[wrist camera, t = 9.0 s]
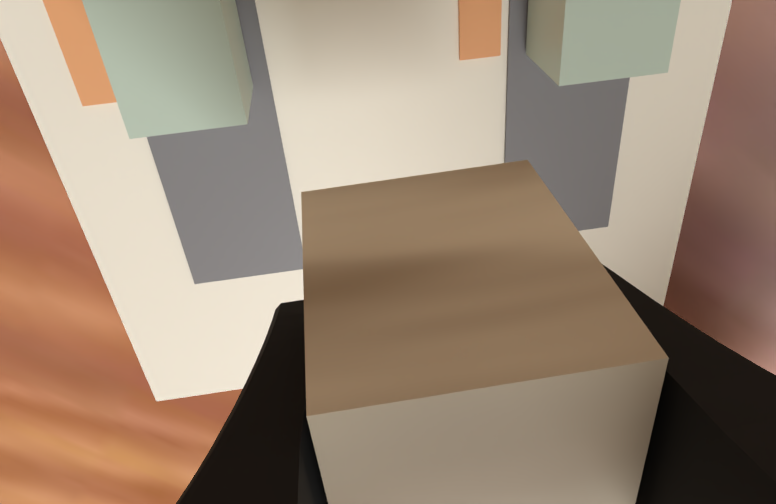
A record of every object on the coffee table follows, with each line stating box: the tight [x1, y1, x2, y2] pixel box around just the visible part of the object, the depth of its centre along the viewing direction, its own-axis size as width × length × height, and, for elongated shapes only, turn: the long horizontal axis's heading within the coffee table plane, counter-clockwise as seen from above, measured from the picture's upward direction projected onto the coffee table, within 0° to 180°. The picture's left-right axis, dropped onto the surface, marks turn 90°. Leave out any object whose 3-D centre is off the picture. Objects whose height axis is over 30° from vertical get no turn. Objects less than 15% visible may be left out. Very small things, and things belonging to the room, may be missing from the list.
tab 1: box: [82, 0, 253, 139], centre depth 13 cm, size 3×2×2 cm
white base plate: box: [0, 0, 732, 401], centre depth 17 cm, size 14×17×2 cm
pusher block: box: [301, 160, 669, 504], centre depth 10 cm, size 4×4×5 cm
